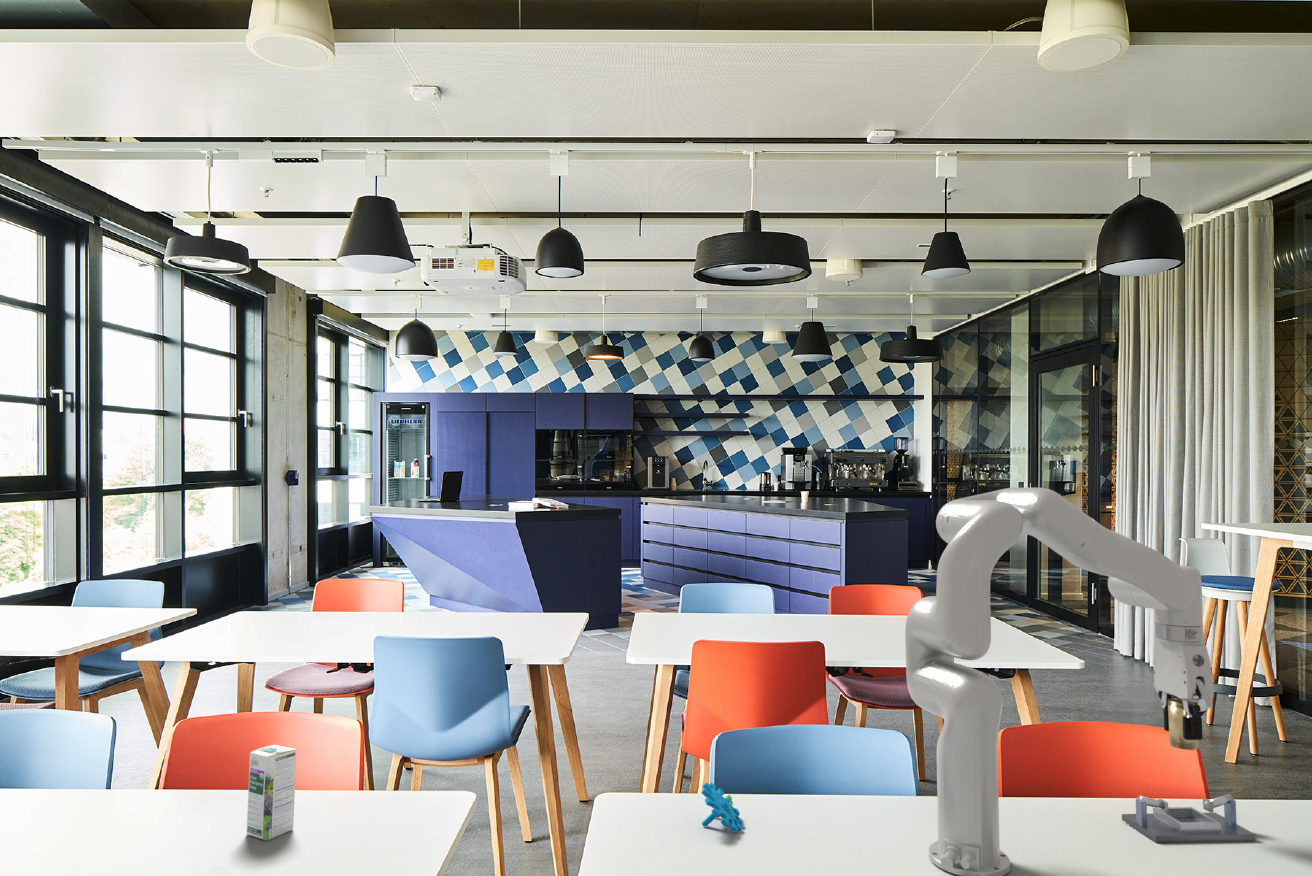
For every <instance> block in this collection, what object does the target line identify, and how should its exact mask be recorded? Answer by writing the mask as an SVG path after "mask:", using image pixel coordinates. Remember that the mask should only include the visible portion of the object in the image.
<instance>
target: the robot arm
mask: <svg viewBox="0 0 1312 876" xmlns="http://www.w3.org/2000/svg"><path fill="white" fill-rule="evenodd" d="M935 525H936V526H935V528H936V530H937V533H938V535H939V537H940V538H941V539H942V540H943V541H944V542H945V543H947V545H946V547H945V549H944V550H943V552H942V554H941V556H940V559H939V560H938V565H937V570H936V589H935V590H936V592H935V593H936V594H935V595H932V596H931V595H929V596H925V597H922V598H920V599H919V600H917V601H916V602H915V603H914V604H913V605H912V606H911V608H910V610H909V612H908V614H907V618H906V621H905V633H904V635H905V637H904V638H905V666H906V667H905V668H906V669H905V672H906V674H905V675H906V685H907V690H908V693H909V695H910V698H911V699H912V700H913V702H914V704H915V705H917V706H918V707H919V708H921V709H923V710H925V711H926V712H928V713H930V714H932V715H935V716H937V717H940V718H941V719H943V726H942V729H941V731H940V733H939V736H938V740H937V742H936V743H937V744H936V788H937V789H936V790H937V791H936V792H937V793H936V794H937V796H936V797H937V799H936V800H937V841H935V842H933V843H932V844H930V846H929V848H928V857H929V859H930V861H931V862H932V863H933V864H934V865H935V866H937V867H938V868H939V869H941V870H944V871H945V872H947V873H951V874H953V875H957V876H1005V875H1007V874H1008V873H1009V872H1010V870H1011V859H1010V858H1009V856H1008V855H1007V854H1006V853H1005V852H1004V851H1002V850H1001V847H1000V812H999V811H1000V809H999V807H1000V806H999V804H1000V803H999V768H998V763H999V762H998V745H999V744H998V741H999V739H998V738H999V733H1000V732H999V731H1000V725H1001V719H1002V715H1003V714H1002V713H1003V708H1004V707H1003V705H1004V701H1003V696H1002V692H1001V689H1000V687H999V685H998V684H997V683H996V682H995V681H994V680H993V678H991V677H990V676H989V675H988V674H986V673H984V672H983V671H980V670H977V669H976V668H972V667H969V666H967V665H963V664H960V663H956V662H955V658H956V659H959V660H963V661H976V660H979V659H981V658H983V657H985V655H986V654H988V651H989V650H990V647H991V642H992V621H991V620H992V618H991V616H992V614H991V578H992V573H993V571H994V568H995V566H996V565H997V563H998V561H999V560H1000V558H1001V557H1002V556H1003V555H1004V554H1005V553H1006V551H1009V549H1010V548H1011V547H1012V546H1014V545H1015V544H1016V543H1017V541H1019V539H1020V537H1021V536H1022V535H1027V536H1031V537H1034V538H1035V539H1036V540H1038V541H1039V542H1041V543H1042V544H1043V545H1045V546H1047V547H1048V548H1050V549H1051V550H1052V551H1053V552H1054V553H1056V554H1057V555H1059V556H1060V557H1062V558H1063V559H1065V560H1066V561H1067V562H1069V563H1070V564H1071V565H1073V566H1075V567H1078V568H1079V569H1083V570H1085V571H1088V572H1091V573H1095V574H1097V575H1101V576H1106V577H1108V578H1107V588H1108V591H1109V593H1110V594H1111V596H1112V597H1113V599H1115V600H1116V601H1118V602H1120V603H1122V604H1124V605H1127V606H1130V607H1131V606H1132V607H1137V608H1145V609H1152V610H1154V611H1153V612H1154V637H1155V641H1154V649H1153V650H1154V651H1153V668H1152V669H1153V681H1154V682H1153V684H1152V688H1153V689H1154V690H1155V691H1156V693H1157V695H1158V697H1159V699H1160V706H1161V707H1162V709H1163V711H1162V712H1163V729H1164V731H1166V732H1169V718H1168V699H1170V698H1180V699H1182V701H1183V706H1184V712H1185V716H1183V738H1184V739H1186V740H1198V741H1200V740H1203V738H1204V737H1203V718H1205V713H1206V712H1207V710H1209V709H1211V708H1212V707H1213V704H1214V703H1213V702H1212V700H1213V699H1214V682H1213V673H1212V666H1211V665H1212V664H1211V660H1210V655H1209V651H1208V648H1207V645H1206V644H1205V639H1204V613H1203V611H1204V610H1203V591H1202V589H1203V587H1202V575H1201V574H1202V573H1200V570H1199V569H1198V568H1197V567H1194V566H1188V565H1178V564H1177V563H1175V561H1173V560H1171V559H1170V558H1169V557H1167V556H1166V555H1164V553H1161V552H1160V551H1157V550H1156V549H1153V548H1152V547H1150V546H1147V545H1144V544H1143V543H1141V542H1138V541H1136V540H1133V539H1131V538H1129V537H1127V536H1125V535H1123V534H1121V533H1119V532H1116V531H1114V530H1111V529H1109V528H1107V527H1105V526H1103V525H1102V524H1101V523H1099V522H1097V521H1096V520H1095V519H1094V518H1092V517H1091V516H1089V515H1088V514H1087V513H1086V512H1084V511H1083V510H1082V509H1080V508H1079V507H1077V506H1076V505H1075V504H1073V503H1072V502H1071V501H1069V500H1068V499H1066V498H1065V497H1064V496H1062V495H1061V494H1060V493H1058V492H1056V491H1054V490H1052V489H1050V488H1045V487H1008V488H1002V489H997V490H993V491H990V492H984V493H980V494H975V495H971V496H965V497H960V498H958V499H953V500H950V501H949V502H947V503H945V504H944V505H943V506H941V508H940V509H939V511H938V513H937V515H936V519H935ZM1190 703H1195V705H1194V706H1193V707H1192V708H1191V706H1190Z"/></svg>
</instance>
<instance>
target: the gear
mask: <svg viewBox="0 0 1312 876" xmlns="http://www.w3.org/2000/svg"><path fill="white" fill-rule="evenodd" d="M702 788H703V789H702V790H701V794H702V795H703V796H704V797H705V799H704V802H705V805H706V806H708V807H711V808H712V810H711V813H710V814H709V815H708V816H707V817H706V818H705V819H704V820H703V821H702V822H701V825H702V826H703V827H704V826H706V827H708V825H710V823H712V822H713V821H714V820H715V819H716V818H717V819H718V818H721V820H720V823H721V825H722V826H723V827H724V828H727V827H728V826H729V830H730V831H731V832H732V833H734V834H735V833H736V832H738V833H739V831H740V832H741V831H742V830H743V829H744V827H743V826H742V825H743V824H744V820H743V819H742V818H741V817H740V815H741V812H740V811H739V809H738V808H736V807H734V805H733V804H734V802H733V801H732V800H733V798H732V796H731V794H727V796H726V797H724V795H725V792H724V791H723V789H722V788H720V787H719V788H718V789H717V786H716V785H715V784H714V783H713V782H710V783H708V782H705V783H704V784H703V785H702ZM716 789H717V790H716Z"/></svg>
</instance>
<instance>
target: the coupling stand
mask: <svg viewBox="0 0 1312 876" xmlns="http://www.w3.org/2000/svg"><path fill="white" fill-rule="evenodd" d="M1236 802H1237V801H1236V800H1235V799H1234V797H1233V796H1232V794H1230V793H1227V794H1224V795H1220V796H1218V797H1217V796H1216V797H1214V798H1211V799H1208V798H1205V797H1203V798H1202V807H1203V810H1205V811H1207V812H1201V811H1199V810H1198V809H1195V808H1194V807H1192V806H1180V807H1178V806H1175V807H1174V806H1173V807H1169V802H1167V801H1166V800H1164V799H1162V798H1158V799H1155V798H1151V797H1148V796H1144V795H1138V796H1137V798H1136V799H1135V813H1121V820H1123V821H1125V822H1126V823H1127V824H1126V823H1125V822H1124V823H1125V824H1126V825H1128V824H1129V825H1130V826H1129V825H1128V826H1129V827H1131V828H1132V827H1133V828H1132V829H1134V830H1135V829H1136V830H1135V831H1137V832H1139V833H1140V834H1142V835H1143V836H1144V837H1146V838H1147V839H1149V840H1150V841H1152V842H1154V843H1156V844H1165V843H1166V844H1169V843H1215V842H1216V843H1219V842H1221V843H1222V842H1223V843H1225V842H1256V834H1255V833H1254V832H1252V831H1250V830H1248V829H1246V828H1245V827H1243V826H1241V825H1240V824H1237V823H1238V822H1237V804H1236ZM1221 806H1223V809H1224V810H1223V811H1224V812H1223V814H1224V816H1222V815H1220V814H1219V813H1217V812H1214V809H1215V808H1218V807H1221ZM1148 807H1152V813H1148ZM1123 821H1122V822H1123Z"/></svg>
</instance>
